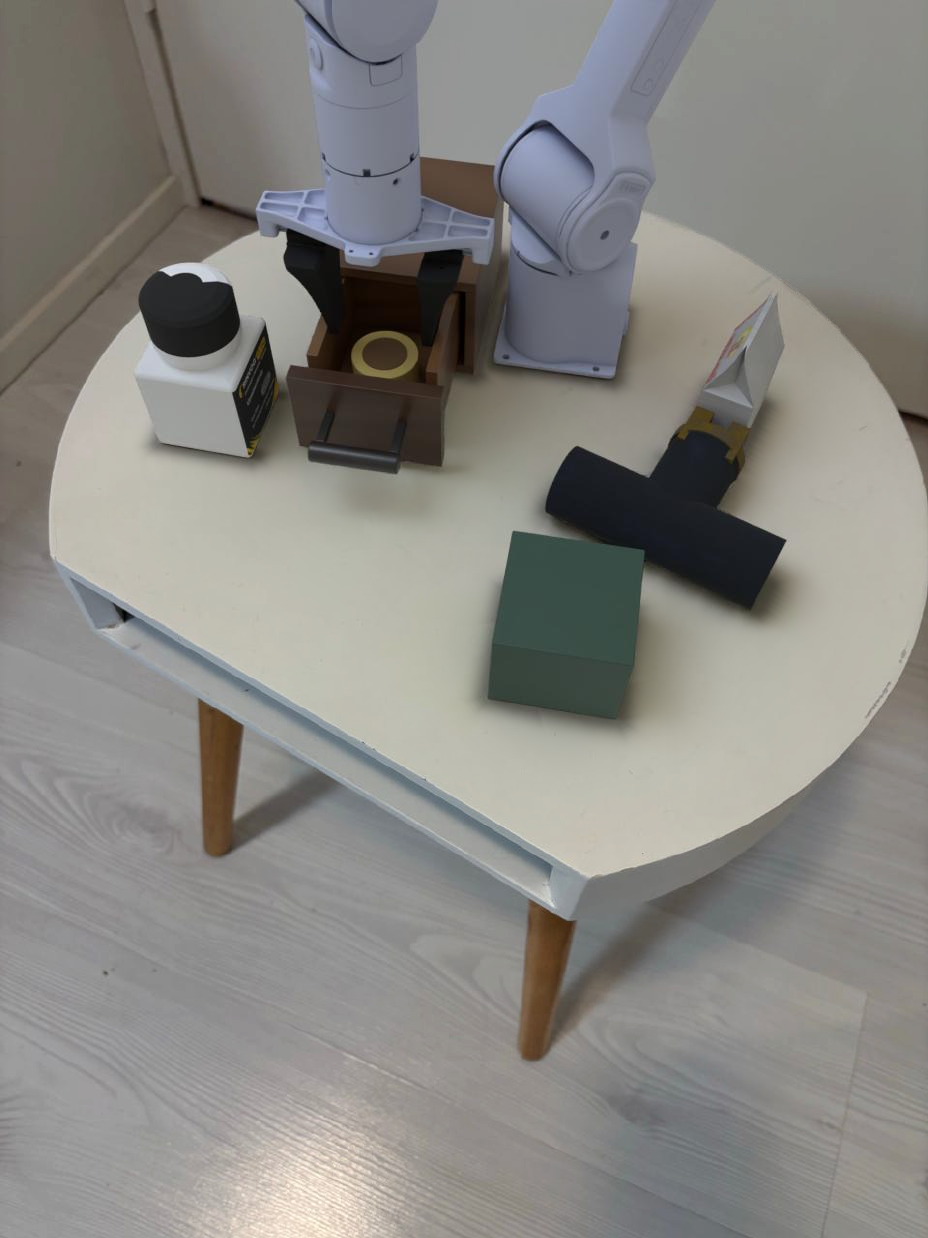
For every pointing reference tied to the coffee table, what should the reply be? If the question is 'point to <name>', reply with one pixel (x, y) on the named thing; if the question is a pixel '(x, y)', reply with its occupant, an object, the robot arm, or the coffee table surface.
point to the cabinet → (477, 196)
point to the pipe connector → (673, 509)
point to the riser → (566, 624)
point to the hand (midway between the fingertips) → (383, 330)
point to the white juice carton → (745, 368)
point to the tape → (386, 356)
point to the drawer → (376, 384)
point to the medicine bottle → (204, 362)
